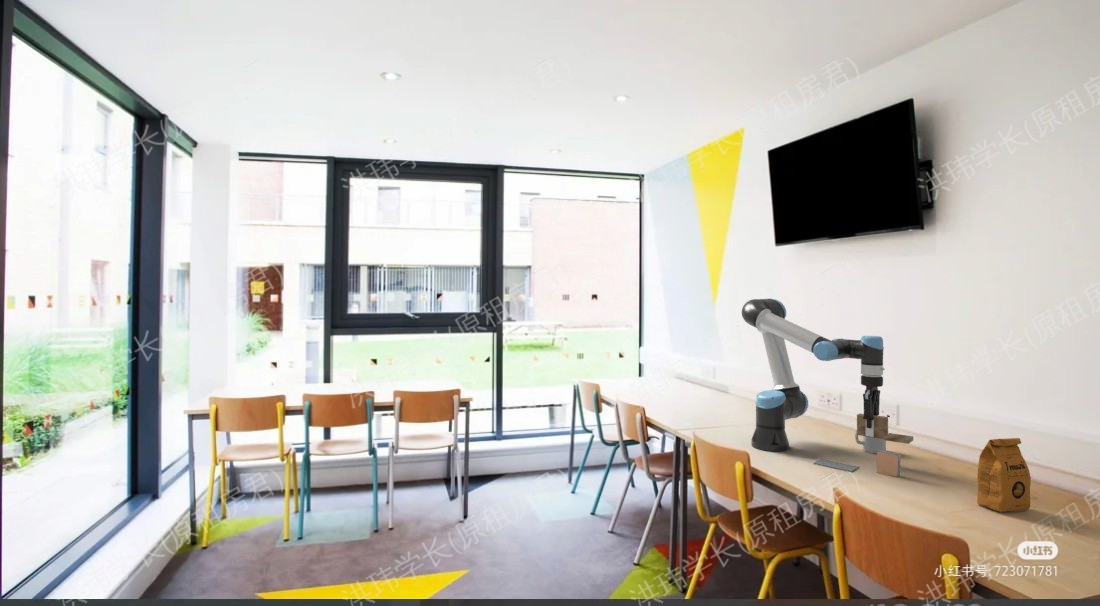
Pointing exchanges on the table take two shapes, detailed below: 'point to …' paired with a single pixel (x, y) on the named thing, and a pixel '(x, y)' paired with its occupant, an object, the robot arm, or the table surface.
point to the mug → (871, 444)
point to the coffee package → (1003, 476)
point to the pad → (836, 465)
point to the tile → (888, 463)
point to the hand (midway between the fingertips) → (871, 435)
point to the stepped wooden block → (881, 429)
